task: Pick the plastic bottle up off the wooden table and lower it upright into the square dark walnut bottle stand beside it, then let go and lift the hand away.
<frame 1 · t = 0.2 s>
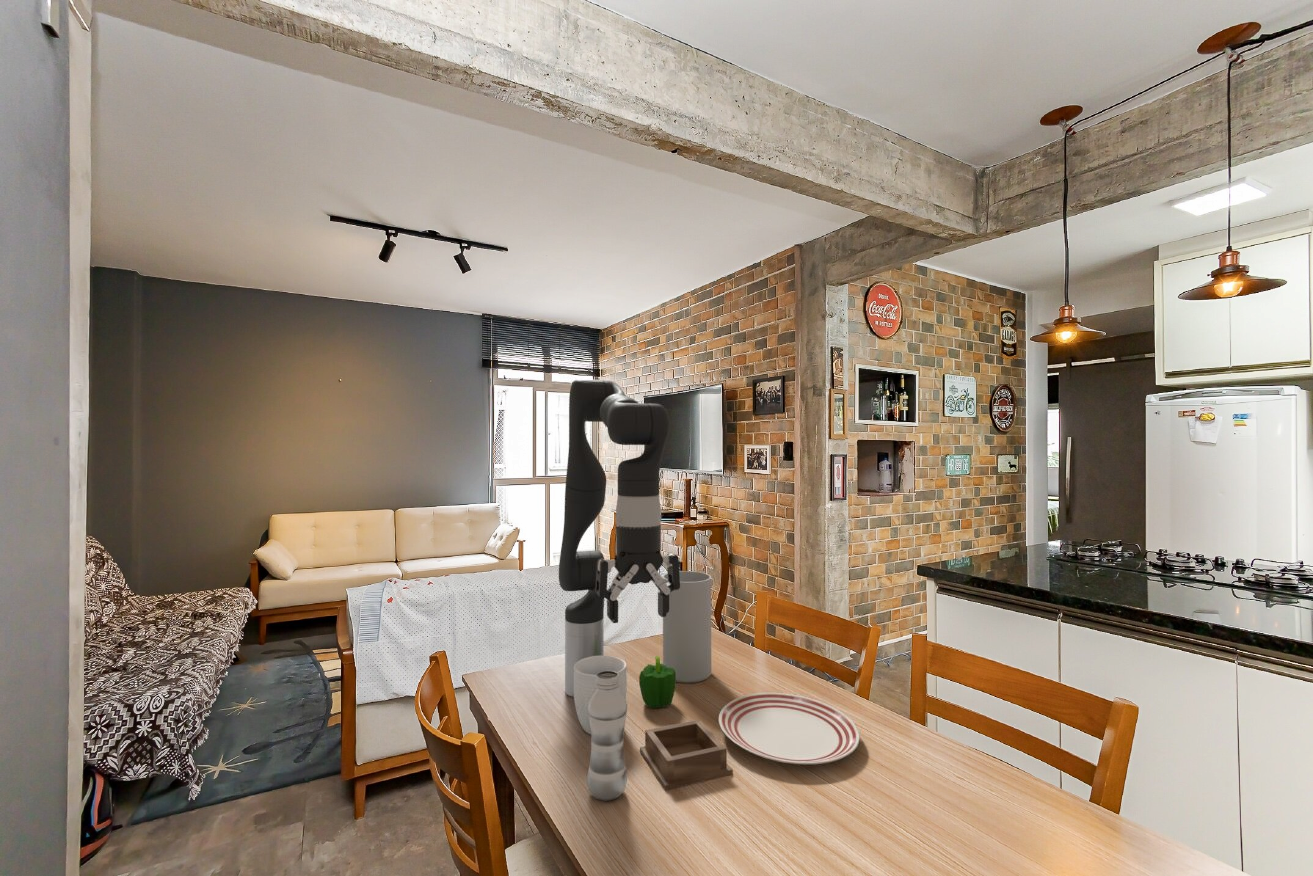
hand: (638, 618, 94), 30 cm above the table, fingers open, 8 cm apart
dinner plate: (787, 739, 113), on the table
bell pepper: (658, 704, 128), on the table
bottle stand: (684, 762, 104), on the table
cylinder vase: (687, 674, 145), on the table
mug: (602, 731, 116), on the table
plastic bottle: (607, 795, 94), on the table
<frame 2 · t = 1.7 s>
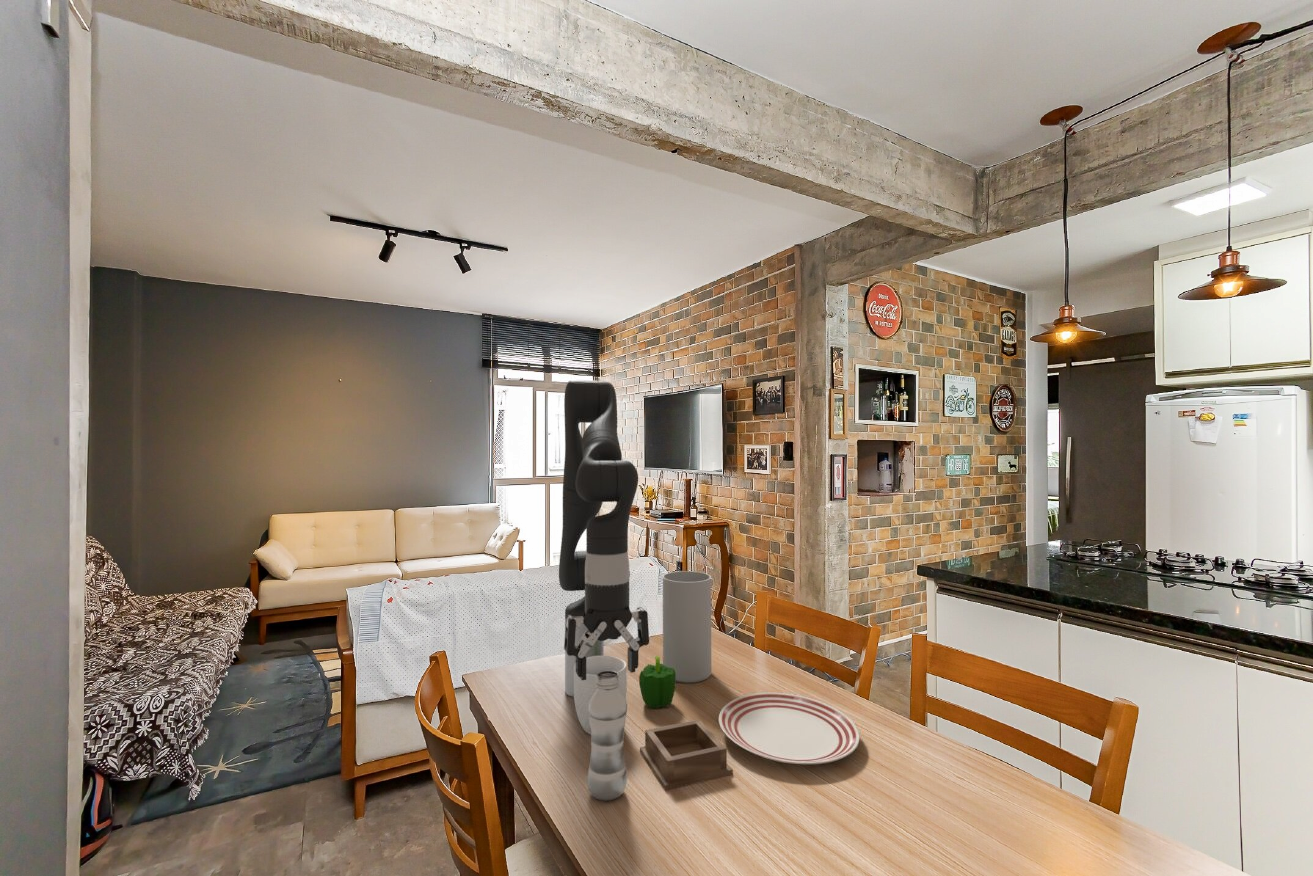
hand: (607, 674, 95), 20 cm above the table, fingers open, 8 cm apart
nothing on the table moved.
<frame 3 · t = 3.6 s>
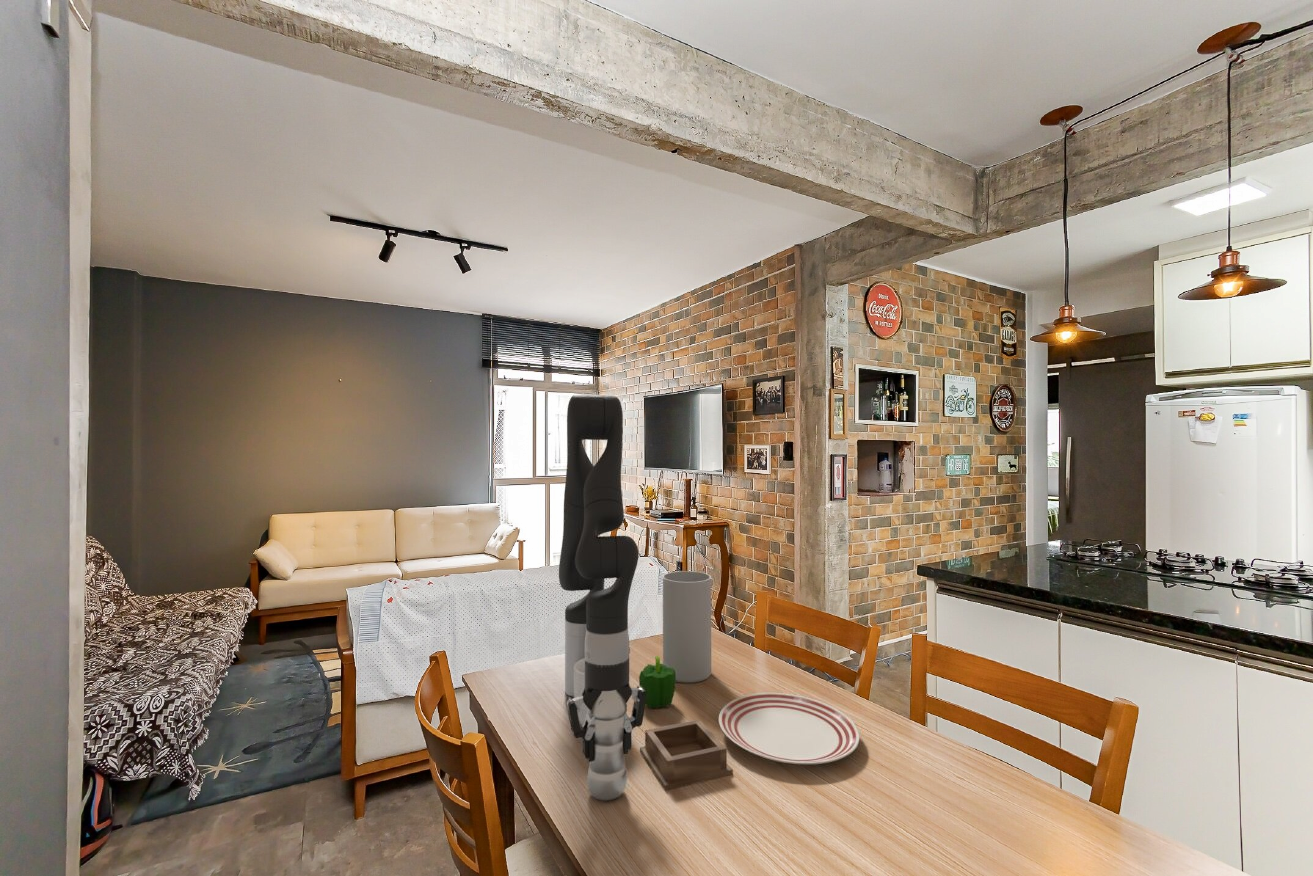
hand: (607, 755, 95), 6 cm above the table, fingers closed on plastic bottle, 5 cm apart
plastic bottle: (607, 795, 94), on the table, touching gripper
everything else where it was.
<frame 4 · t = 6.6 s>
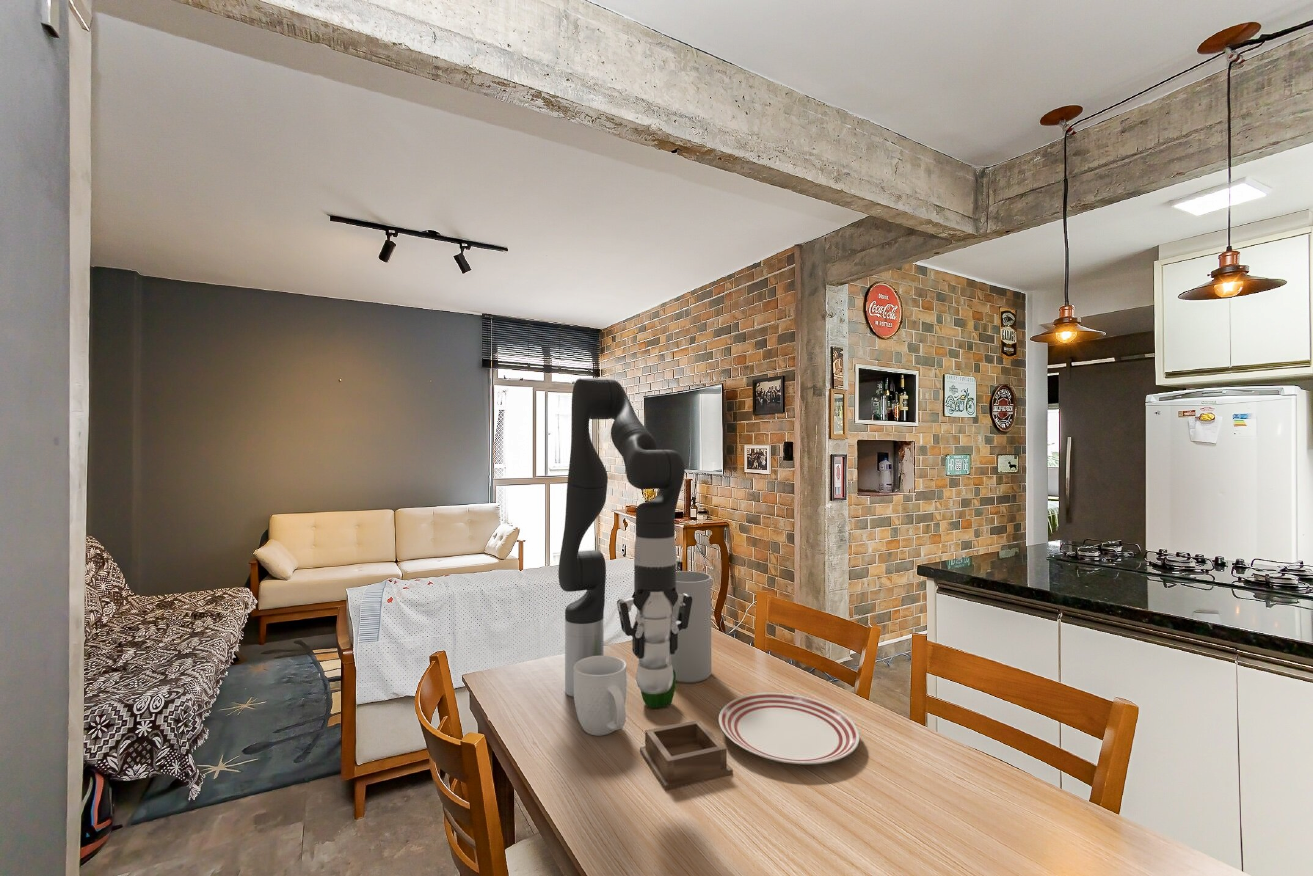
hand: (655, 654, 101), 21 cm above the table, fingers closed on plastic bottle, 5 cm apart
plastic bottle: (655, 692, 101), point 14 cm above the table, touching gripper
everything else where it was.
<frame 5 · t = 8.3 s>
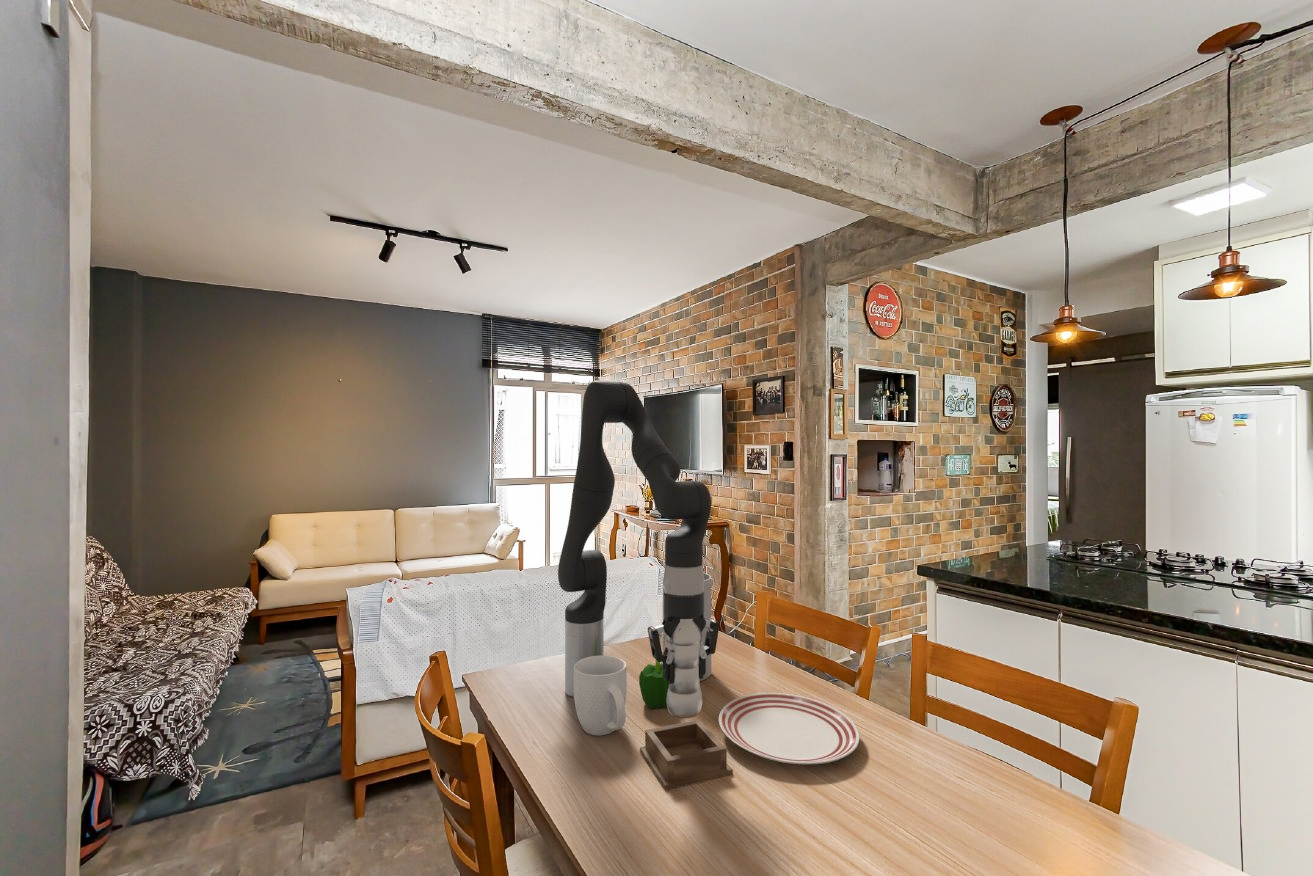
hand: (684, 679, 104), 15 cm above the table, fingers closed on plastic bottle, 5 cm apart
plastic bottle: (684, 715, 104), point 9 cm above the table, touching gripper
everything else where it was.
when the fingers open (9 cm above the table, at t = 10.0 s): plastic bottle drops 1 cm, resting on bottle stand.
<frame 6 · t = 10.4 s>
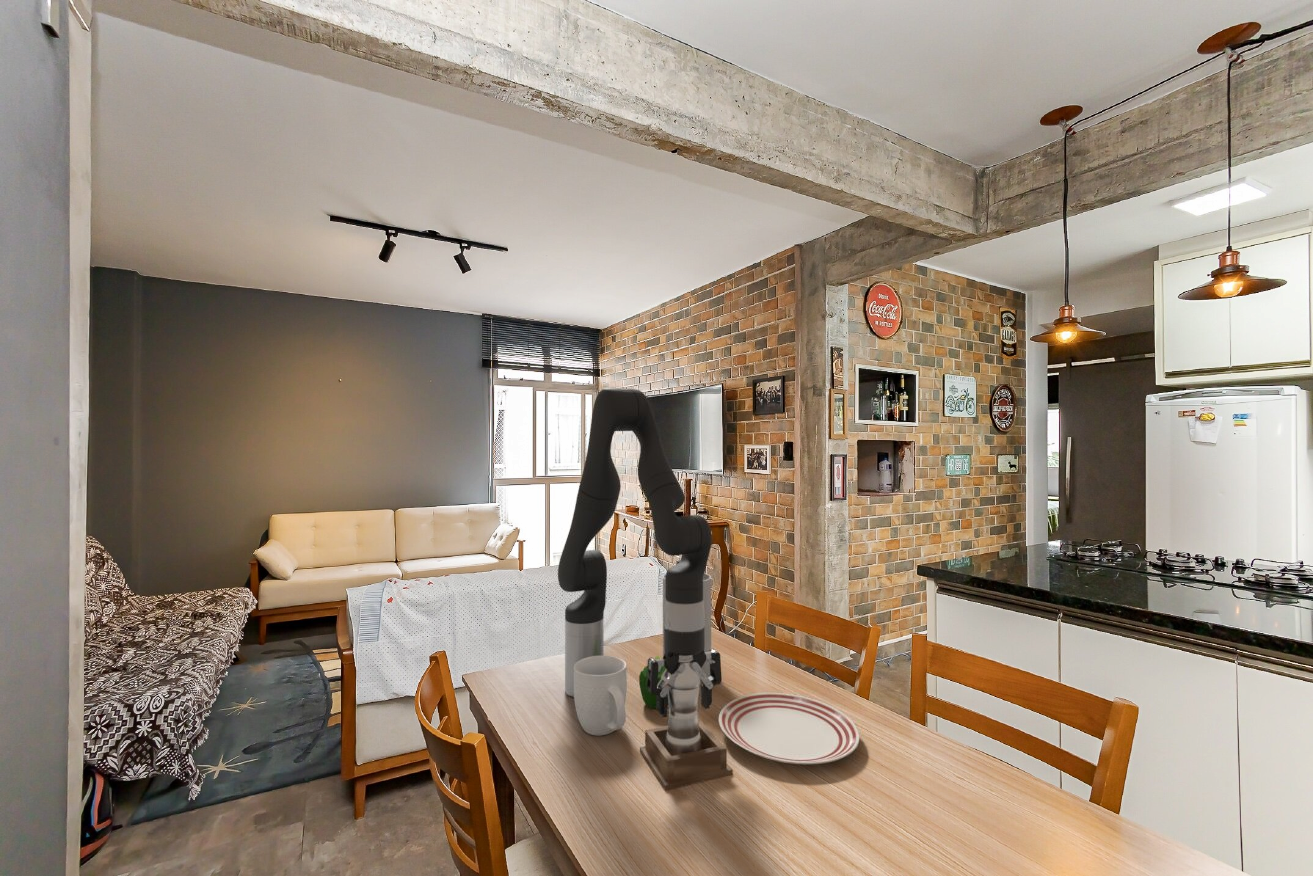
hand: (684, 711, 104), 9 cm above the table, fingers open, 8 cm apart
plastic bottle: (683, 759, 104), point 1 cm above the table, touching bottle stand
everything else where it was.
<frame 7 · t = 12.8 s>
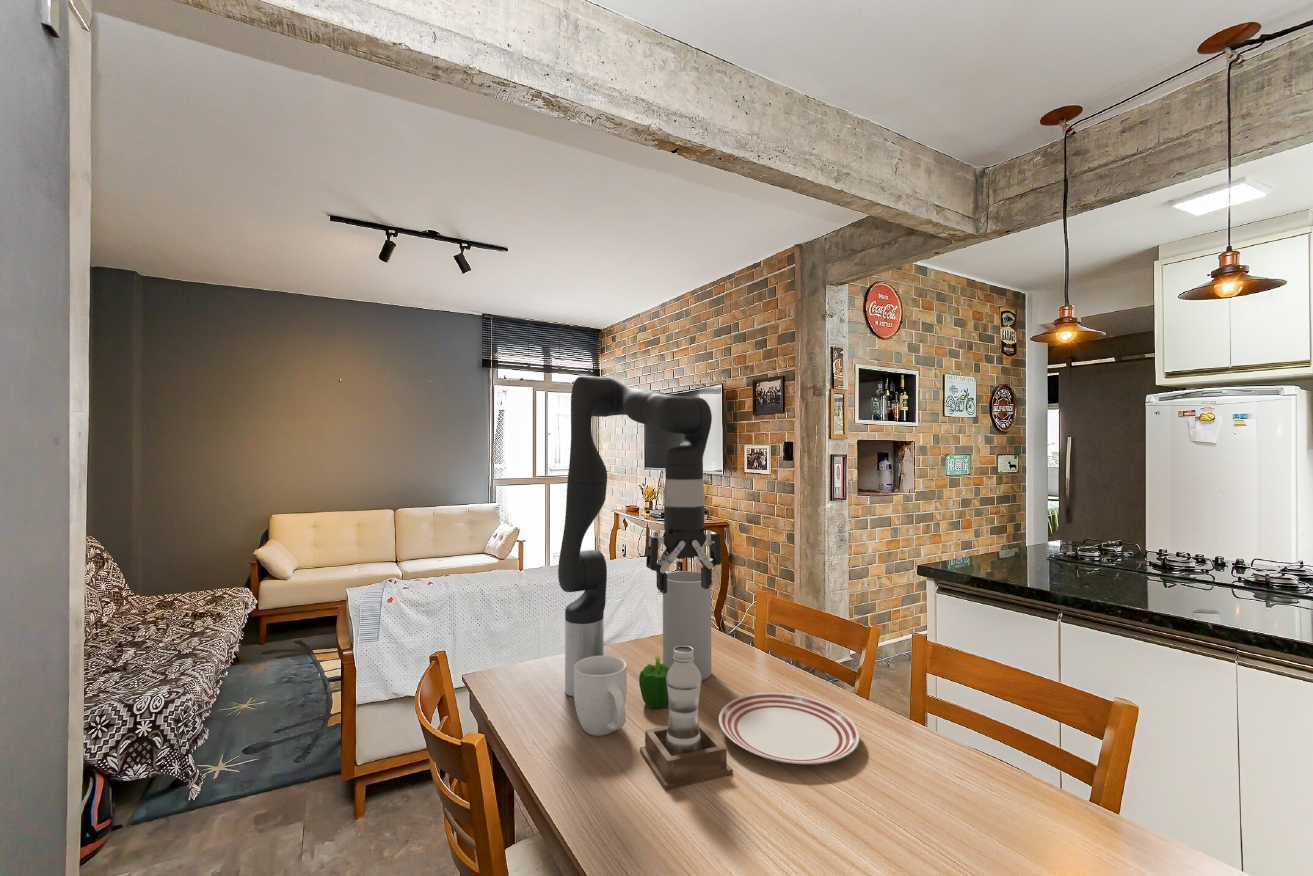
hand: (684, 590, 104), 32 cm above the table, fingers open, 8 cm apart
nothing on the table moved.
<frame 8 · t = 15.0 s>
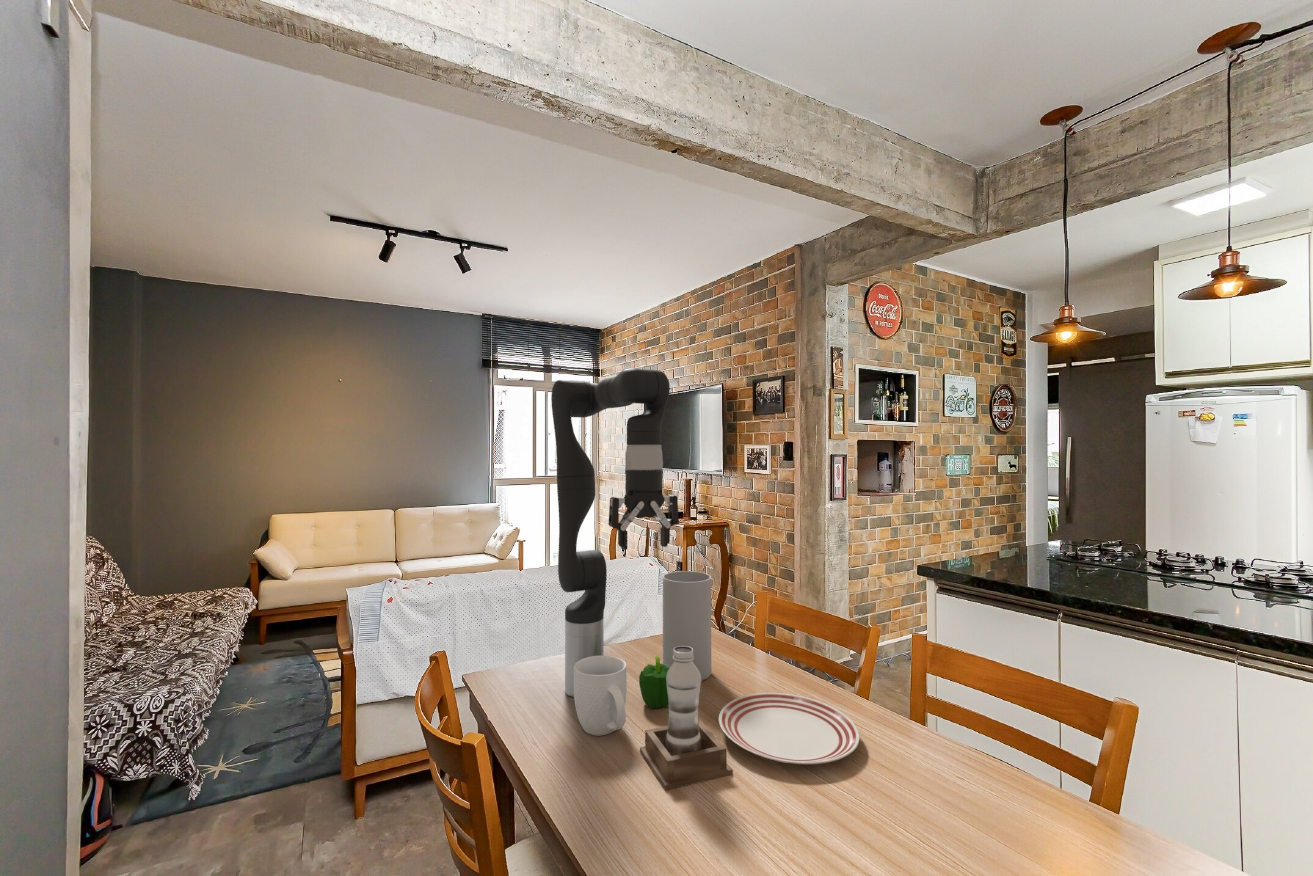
hand: (644, 547, 113), 38 cm above the table, fingers open, 8 cm apart
nothing on the table moved.
at the end: plastic bottle 0.2 cm off-centre on the bottle stand, point 0.6 cm above the bottle stand's base; plastic bottle tilted 0°; the gripper is holding nothing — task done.
